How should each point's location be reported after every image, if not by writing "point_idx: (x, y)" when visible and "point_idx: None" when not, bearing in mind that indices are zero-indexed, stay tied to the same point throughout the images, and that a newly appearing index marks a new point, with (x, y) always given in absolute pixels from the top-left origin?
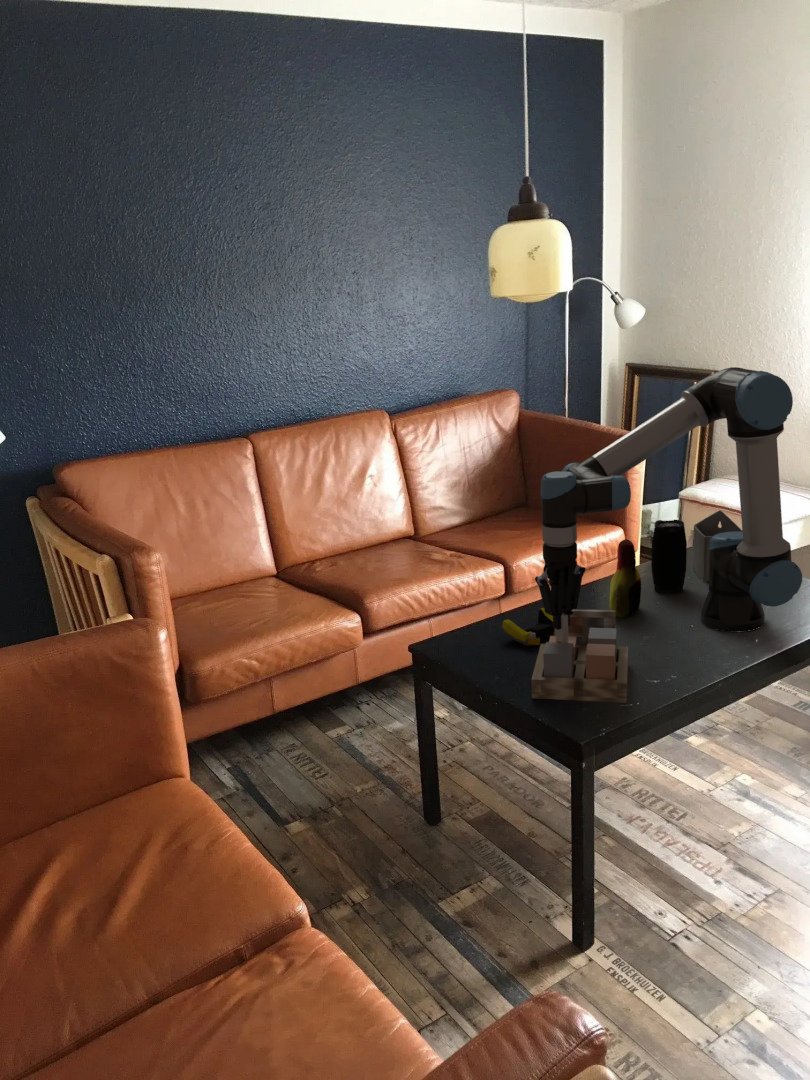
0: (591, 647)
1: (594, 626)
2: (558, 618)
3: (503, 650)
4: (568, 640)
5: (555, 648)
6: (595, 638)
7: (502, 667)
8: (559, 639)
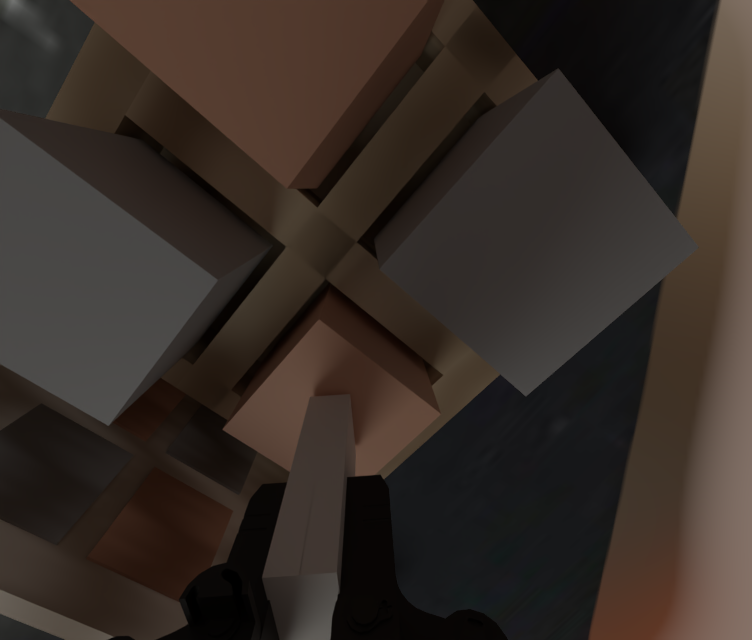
0: (304, 84)
1: (58, 463)
2: (372, 570)
3: (410, 557)
4: (293, 415)
5: (560, 268)
6: (163, 240)
7: (493, 473)
8: (352, 432)
